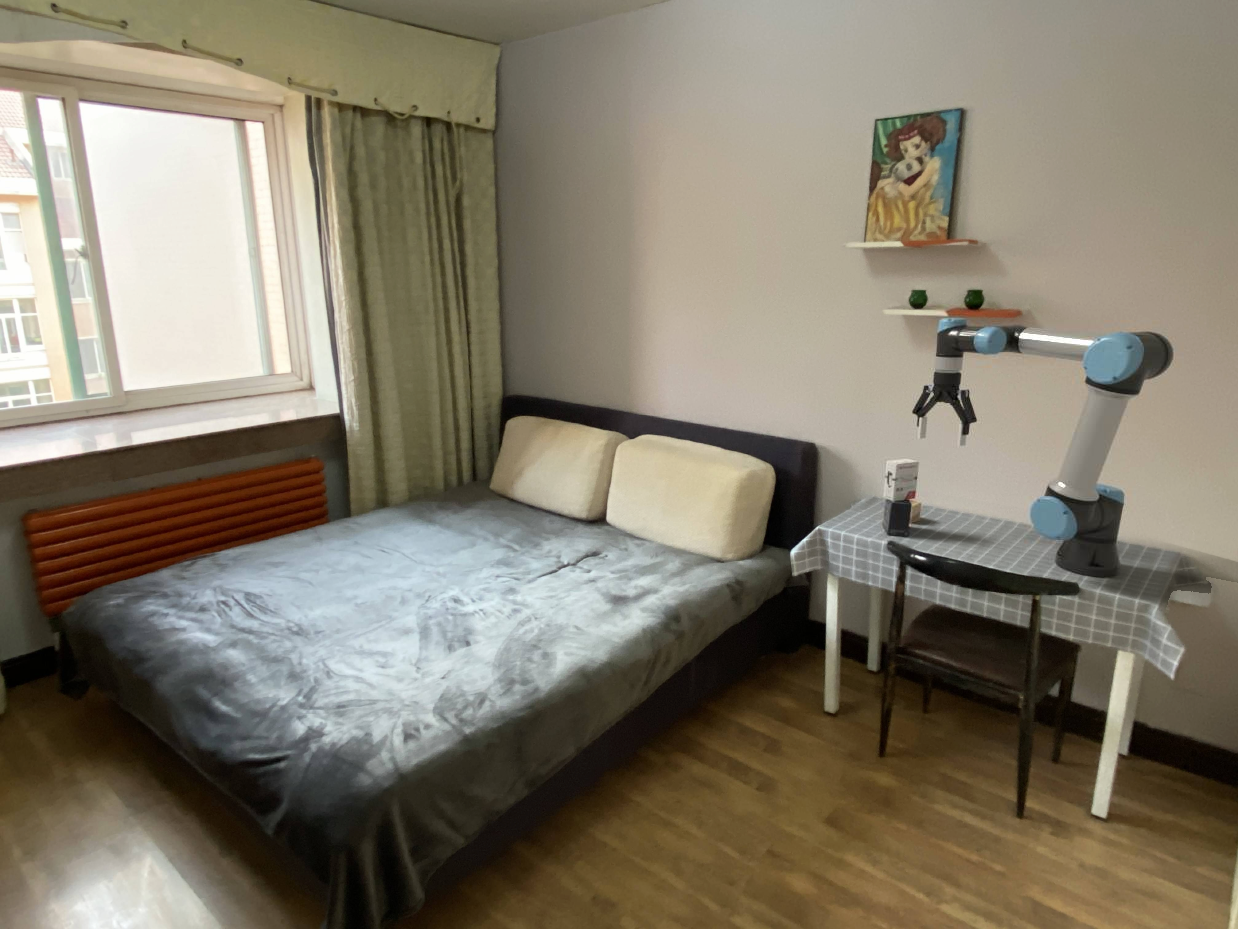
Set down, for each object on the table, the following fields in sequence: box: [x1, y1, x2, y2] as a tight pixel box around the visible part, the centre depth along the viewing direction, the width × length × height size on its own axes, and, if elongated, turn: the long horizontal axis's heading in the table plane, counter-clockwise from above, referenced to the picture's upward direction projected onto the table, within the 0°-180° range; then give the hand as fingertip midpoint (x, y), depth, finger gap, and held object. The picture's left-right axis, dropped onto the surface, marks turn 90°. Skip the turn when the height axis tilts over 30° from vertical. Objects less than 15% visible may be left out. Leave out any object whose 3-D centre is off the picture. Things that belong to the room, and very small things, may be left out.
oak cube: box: [909, 499, 922, 525], centre depth 246 cm, size 6×6×6 cm
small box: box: [882, 498, 912, 537], centre depth 235 cm, size 11×6×10 cm, turn 170°
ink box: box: [883, 458, 920, 501], centre depth 232 cm, size 9×5×12 cm, turn 112°
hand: (940, 441), depth 230 cm, fingers open, 13 cm apart
